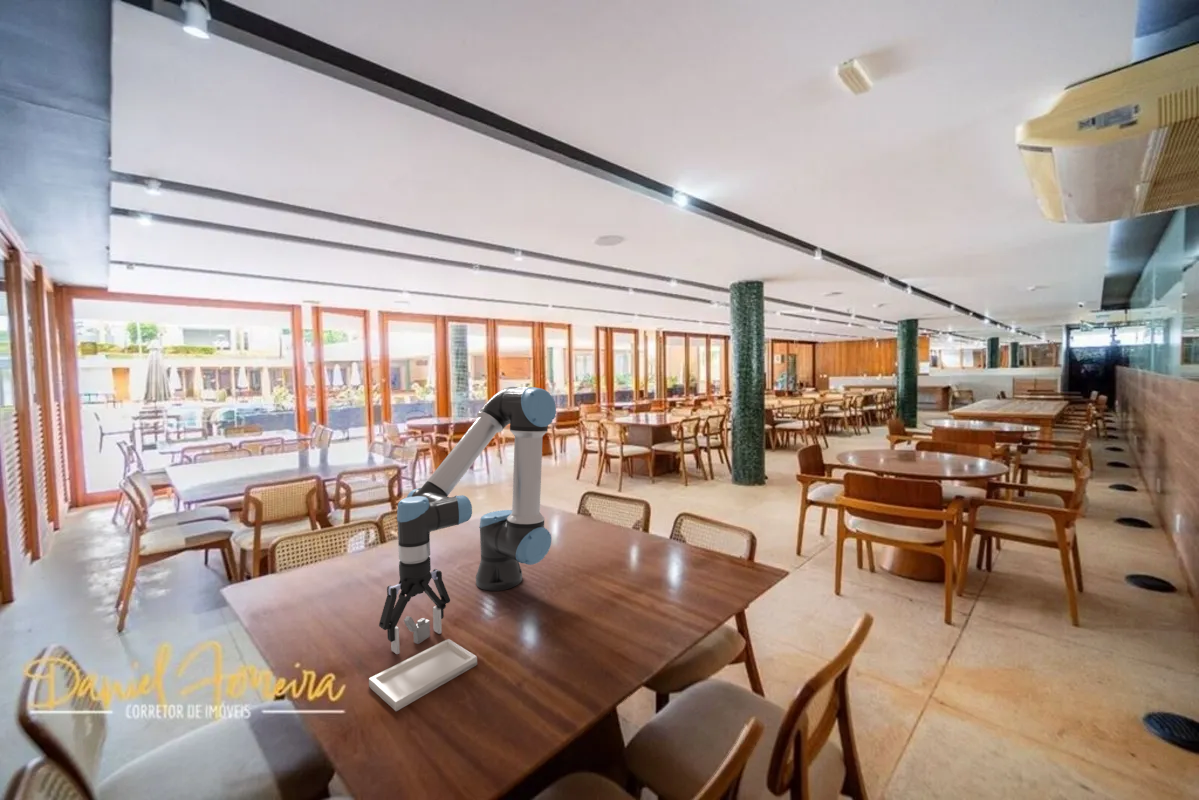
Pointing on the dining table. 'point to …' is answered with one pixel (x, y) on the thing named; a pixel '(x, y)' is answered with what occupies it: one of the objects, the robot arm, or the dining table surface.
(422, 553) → the robot arm
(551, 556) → the dining table surface
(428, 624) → the lighter
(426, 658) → the tray
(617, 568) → the dining table surface
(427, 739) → the dining table surface
